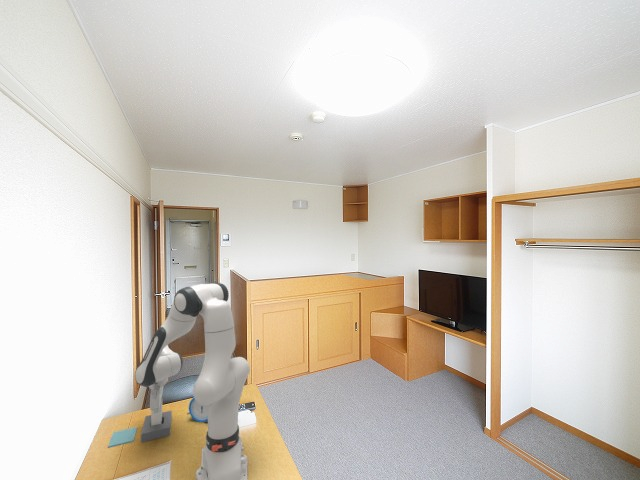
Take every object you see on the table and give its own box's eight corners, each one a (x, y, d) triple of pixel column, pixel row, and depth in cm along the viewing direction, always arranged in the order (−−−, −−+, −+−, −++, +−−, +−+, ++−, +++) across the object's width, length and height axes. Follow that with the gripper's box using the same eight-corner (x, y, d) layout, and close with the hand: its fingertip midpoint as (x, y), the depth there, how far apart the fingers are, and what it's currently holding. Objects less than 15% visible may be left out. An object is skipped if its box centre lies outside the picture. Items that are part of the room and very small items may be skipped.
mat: (133, 442, 120) (133, 440, 120) (107, 449, 116) (107, 446, 116) (137, 428, 129) (137, 426, 129) (113, 434, 125) (113, 432, 125)
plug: (161, 424, 127) (161, 398, 127) (151, 426, 125) (151, 400, 126) (162, 419, 131) (162, 394, 131) (152, 421, 129) (152, 396, 129)
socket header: (169, 436, 124) (169, 427, 124) (140, 443, 119) (140, 434, 120) (171, 418, 137) (171, 410, 137) (145, 424, 132) (145, 416, 132)
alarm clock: (188, 422, 134) (188, 390, 135) (195, 414, 140) (195, 384, 141) (213, 424, 133) (214, 392, 133) (219, 416, 139) (220, 386, 139)
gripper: (163, 387, 120) (162, 420, 120) (166, 368, 139) (166, 396, 139) (146, 390, 118) (145, 424, 117) (152, 371, 136) (151, 399, 136)
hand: (156, 409), depth 128 cm, fingers closed on plug, 4 cm apart
